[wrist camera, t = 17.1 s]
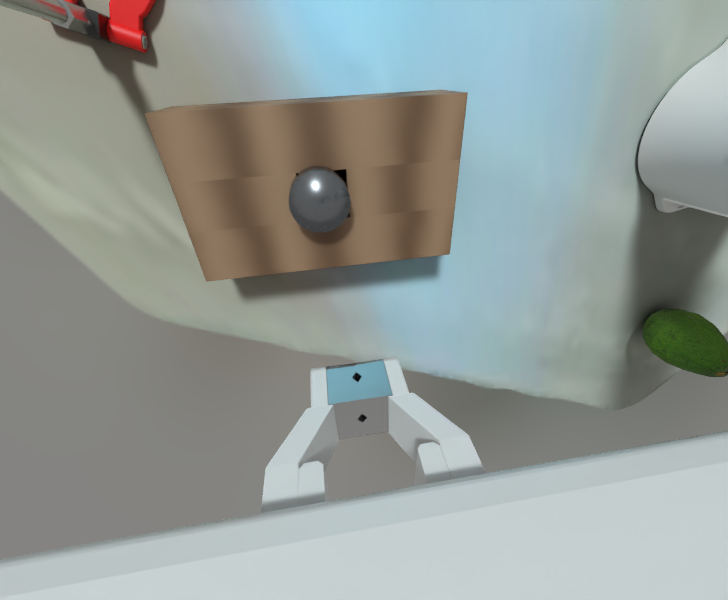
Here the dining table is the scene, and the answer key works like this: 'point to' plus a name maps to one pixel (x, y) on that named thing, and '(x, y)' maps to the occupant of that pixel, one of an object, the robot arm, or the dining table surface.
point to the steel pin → (319, 199)
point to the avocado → (687, 342)
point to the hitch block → (305, 149)
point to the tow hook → (93, 19)
